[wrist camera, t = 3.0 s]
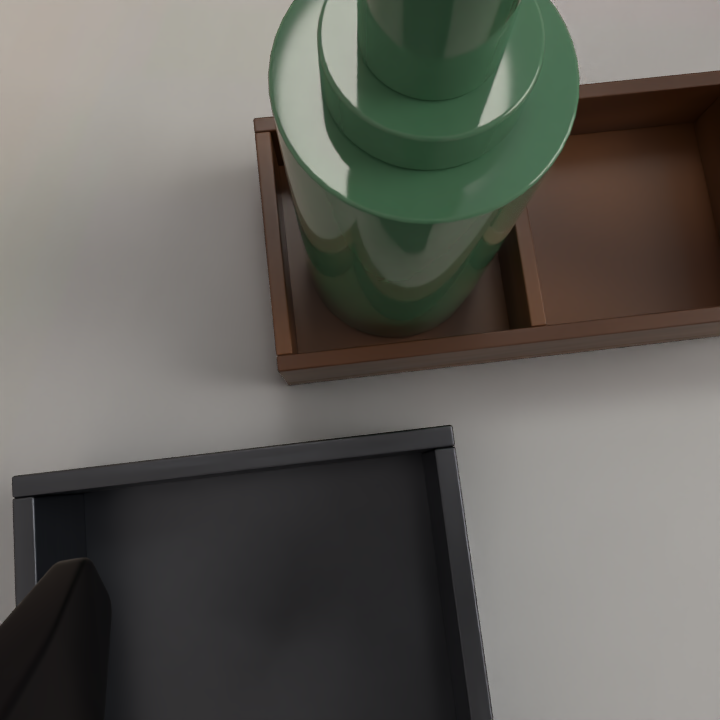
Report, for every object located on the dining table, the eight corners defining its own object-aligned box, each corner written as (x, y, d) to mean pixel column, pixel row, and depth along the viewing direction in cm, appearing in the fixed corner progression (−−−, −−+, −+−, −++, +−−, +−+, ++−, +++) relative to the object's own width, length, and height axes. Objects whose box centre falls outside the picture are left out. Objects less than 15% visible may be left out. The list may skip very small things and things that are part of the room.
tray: (488, 828, 21) (520, 914, 17) (90, 881, 20) (25, 982, 16) (435, 433, 23) (452, 424, 19) (72, 476, 22) (10, 476, 18)
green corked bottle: (505, 210, 24) (813, -330, 8) (440, 365, 23) (642, 110, 7) (347, 146, 24) (336, -495, 8) (277, 296, 23) (109, -98, 7)
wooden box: (742, 333, 23) (800, 312, 20) (287, 385, 23) (278, 372, 20) (695, 117, 25) (743, 67, 22) (265, 162, 24) (253, 117, 21)
